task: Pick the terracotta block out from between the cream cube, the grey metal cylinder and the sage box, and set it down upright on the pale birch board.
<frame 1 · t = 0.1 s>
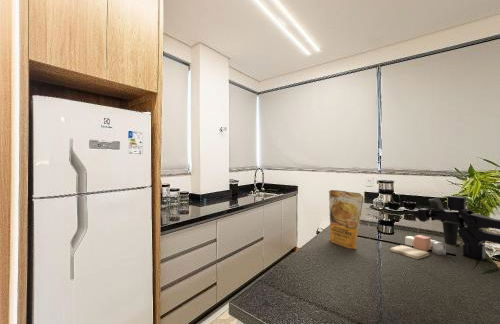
hand: (413, 211, 129), 17 cm above the countertop, tool horizontal, fingers open, 9 cm apart
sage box: (431, 246, 121), on the countertop
drinking cup: (450, 243, 125), on the countertop
birch board: (409, 252, 111), on the countertop
cream cube: (411, 245, 122), on the countertop
grey cylinder: (438, 253, 111), on the countertop
pancake mix bag: (343, 244, 122), on the countertop
terracotta block: (422, 248, 117), on the countertop
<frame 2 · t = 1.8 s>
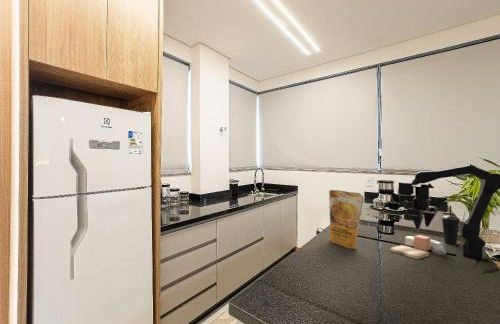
hand: (422, 227, 117), 11 cm above the countertop, tool pointing down, fingers open, 9 cm apart
nothing on the countertop moved.
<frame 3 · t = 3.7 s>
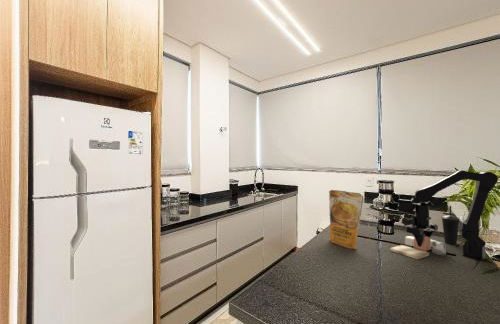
hand: (422, 245, 117), 2 cm above the countertop, tool pointing down, fingers closed on terracotta block, 5 cm apart
terracotta block: (422, 248, 117), on the countertop, touching gripper
everything else where it was.
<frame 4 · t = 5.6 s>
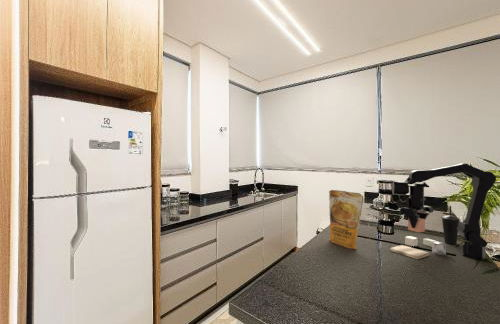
hand: (416, 227, 115), 11 cm above the countertop, tool pointing down, fingers closed on terracotta block, 5 cm apart
terracotta block: (416, 230, 115), point 10 cm above the countertop, touching gripper
everything else where it was.
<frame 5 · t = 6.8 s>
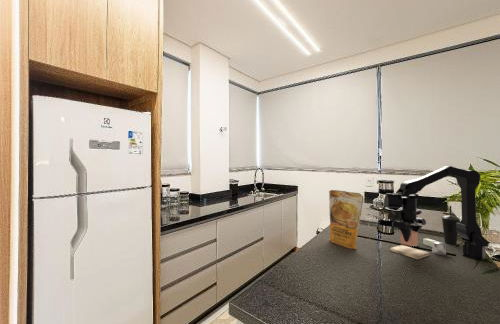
hand: (409, 240, 111), 6 cm above the countertop, tool pointing down, fingers closed on terracotta block, 5 cm apart
terracotta block: (409, 243, 111), point 4 cm above the countertop, touching gripper
everything else where it was.
when the fingers open (4 cm above the countertop, at t = 7.8 s): terracotta block drops 2 cm, resting on birch board.
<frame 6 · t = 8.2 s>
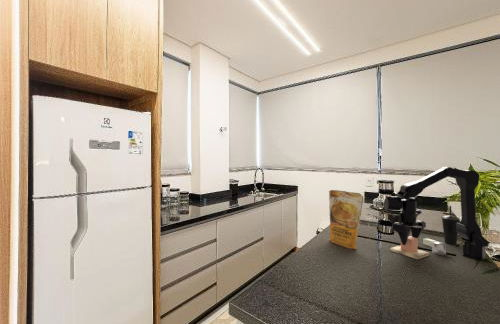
hand: (409, 243, 111), 4 cm above the countertop, tool pointing down, fingers open, 9 cm apart
terracotta block: (409, 250, 111), point 1 cm above the countertop, touching birch board
everything else where it was.
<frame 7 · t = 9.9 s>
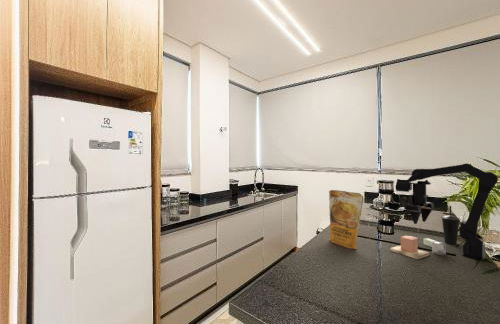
hand: (419, 222, 121), 12 cm above the countertop, tool pointing down, fingers open, 9 cm apart
nothing on the countertop moved.
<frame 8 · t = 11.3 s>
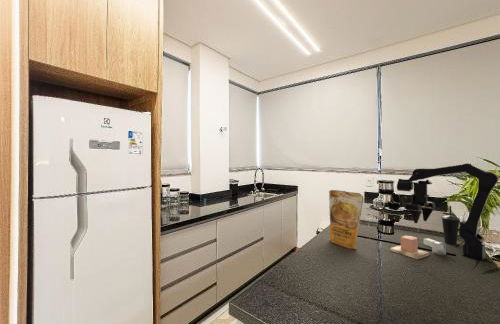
hand: (420, 222, 122), 12 cm above the countertop, tool pointing down, fingers open, 9 cm apart
nothing on the countertop moved.
at the end: terracotta block inside the target area (0.1 cm from its centre), point 1.2 cm above the countertop; terracotta block tilted 0°; the gripper is holding nothing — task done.
